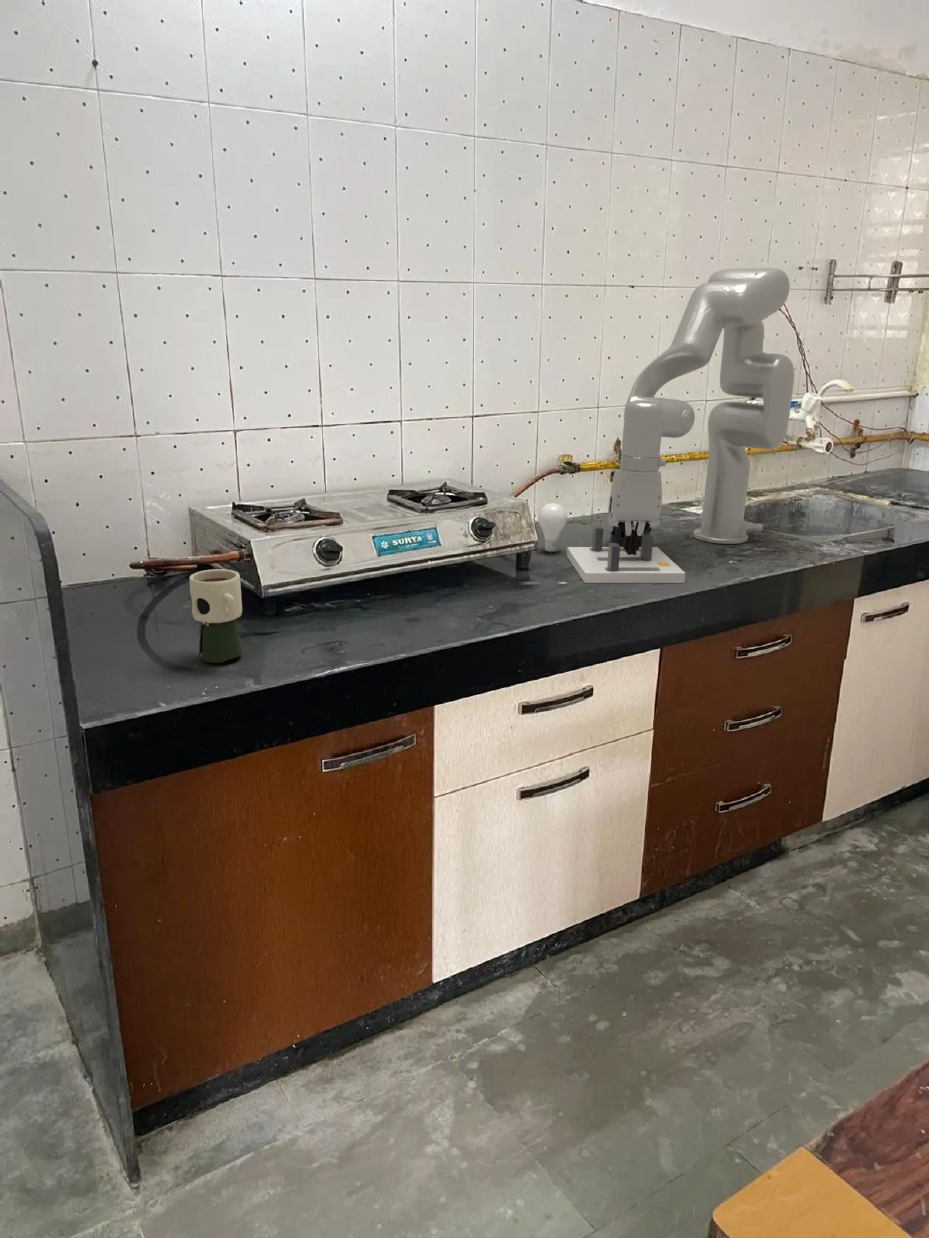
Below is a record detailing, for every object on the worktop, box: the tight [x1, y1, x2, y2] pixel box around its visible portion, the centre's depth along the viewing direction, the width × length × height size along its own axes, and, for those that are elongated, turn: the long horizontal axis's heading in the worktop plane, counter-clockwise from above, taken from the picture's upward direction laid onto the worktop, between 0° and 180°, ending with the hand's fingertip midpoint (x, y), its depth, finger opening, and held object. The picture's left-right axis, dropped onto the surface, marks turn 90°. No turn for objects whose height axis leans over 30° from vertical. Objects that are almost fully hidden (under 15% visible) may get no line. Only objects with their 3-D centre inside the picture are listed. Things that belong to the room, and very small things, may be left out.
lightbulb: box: [537, 502, 568, 554], centre depth 190 cm, size 6×6×11 cm
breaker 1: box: [591, 524, 604, 550], centre depth 186 cm, size 2×3×5 cm, turn 4°
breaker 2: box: [607, 542, 620, 570], centre depth 172 cm, size 2×3×5 cm, turn 4°
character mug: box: [188, 568, 243, 664], centre depth 128 cm, size 11×7×13 cm, turn 39°
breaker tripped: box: [640, 533, 654, 560], centre depth 179 cm, size 2×3×5 cm, turn 4°
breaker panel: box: [566, 546, 686, 584], centre depth 180 cm, size 20×20×2 cm
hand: (630, 553), depth 180 cm, fingers closed
